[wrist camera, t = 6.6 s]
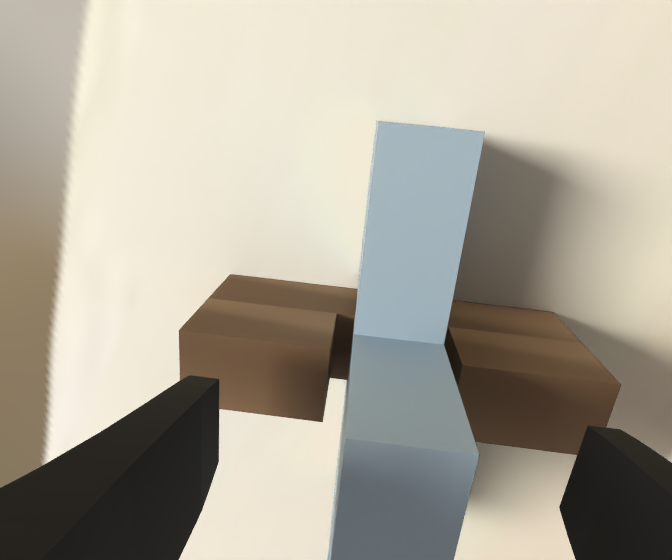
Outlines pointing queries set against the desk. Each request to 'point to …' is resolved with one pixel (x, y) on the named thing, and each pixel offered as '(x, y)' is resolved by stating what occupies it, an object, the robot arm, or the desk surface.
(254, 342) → the brown notched wooden bar
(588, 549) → the robot arm
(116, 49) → the desk surface
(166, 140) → the desk surface
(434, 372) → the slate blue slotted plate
